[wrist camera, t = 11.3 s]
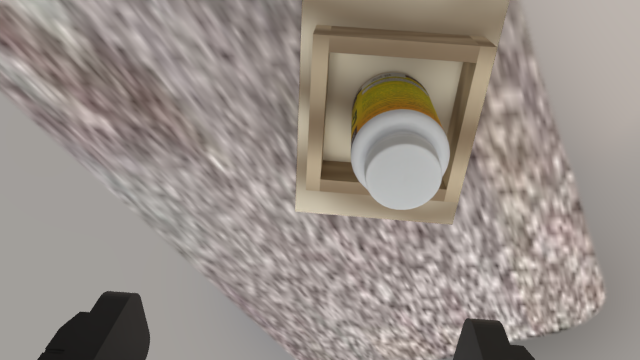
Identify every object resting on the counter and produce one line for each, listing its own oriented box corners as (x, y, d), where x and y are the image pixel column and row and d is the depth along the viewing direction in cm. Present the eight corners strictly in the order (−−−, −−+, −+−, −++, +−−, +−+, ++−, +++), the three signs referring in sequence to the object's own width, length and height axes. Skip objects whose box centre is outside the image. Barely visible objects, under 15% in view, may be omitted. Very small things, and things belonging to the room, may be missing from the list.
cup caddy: (305, -46, 28) (298, -42, 24) (512, -32, 27) (535, -26, 24) (296, 204, 37) (290, 233, 34) (450, 217, 37) (459, 247, 33)
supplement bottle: (342, 82, 31) (337, 143, 22) (422, 60, 30) (450, 116, 21) (362, 151, 33) (364, 231, 24) (436, 133, 32) (466, 211, 23)
